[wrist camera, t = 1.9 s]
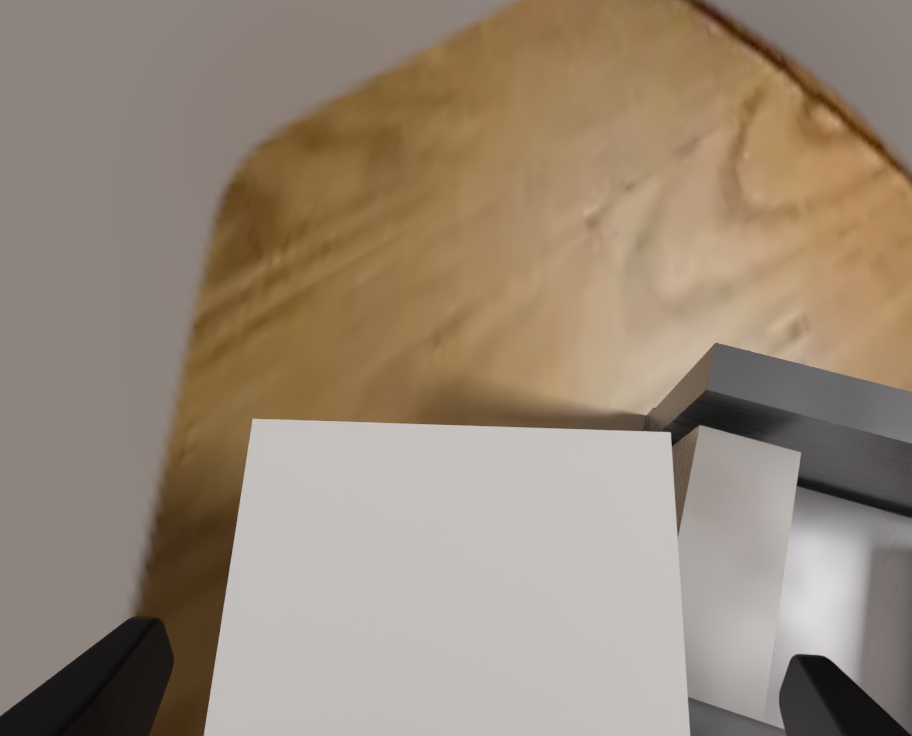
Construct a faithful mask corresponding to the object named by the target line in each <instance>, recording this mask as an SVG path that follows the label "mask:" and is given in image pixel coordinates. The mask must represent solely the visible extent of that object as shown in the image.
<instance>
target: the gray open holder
mask: <svg viewBox="0 0 912 736" xmlns="http://www.w3.org/2000/svg"><path fill="white" fill-rule="evenodd" d="M644 431H649V432H671V444H672V459H673V475H674V491H675V506H676V522H677V537H678V553H679V569H680V584H681V600H682V615H683V631H684V646H685V662H686V678H687V693H688V709H689V724H690V736H786V732H785V728H784V724H783V720H782V716H781V712H780V707H779V691H780V688H781V685H782V682H783V679H784V676H785V673H786V670H787V667H788V665H789V662H790V659H791V657H793V656H794V655H795V654H811V655H822V656H825V657H827V658H828V659H830V660H831V661H832V662H834V663H835V664H836V665H837V666H838V667H839V668H840V669H841V670H842V671H843V672H844V673H845V674H846V675H848V676H849V677H850V678H851V679H852V680H853V681H854V682H855V683H856V684H857V685H858V686H859V687H860V688H861V689H862V690H864V691H865V692H866V693H867V694H868V695H869V696H870V697H871V698H872V699H873V700H874V701H875V702H876V703H877V704H879V705H880V706H881V707H882V708H883V709H884V710H885V711H886V712H887V713H888V714H889V715H890V716H891V717H892V718H894V719H895V720H896V721H897V722H898V723H899V724H900V725H901V726H902V727H903V728H904V729H905V730H906V731H907V732H908V733H910V734H911V735H912V392H909V391H905V390H901V389H898V388H894V387H890V386H886V385H882V384H878V383H874V382H870V381H866V380H862V379H858V378H854V377H850V376H846V375H842V374H838V373H834V372H830V371H826V370H822V369H818V368H814V367H810V366H806V365H802V364H798V363H794V362H790V361H786V360H782V359H778V358H774V357H770V356H766V355H762V354H758V353H754V352H750V351H746V350H742V349H738V348H734V347H730V346H726V345H722V344H718V343H715V344H714V345H713V346H712V347H711V348H710V349H709V351H708V352H707V353H706V354H705V355H704V356H703V357H702V358H701V359H700V360H699V361H698V363H697V364H696V365H695V366H694V367H693V368H692V369H691V370H690V371H689V372H688V373H687V374H686V376H685V377H684V378H683V379H682V380H681V381H680V382H679V383H678V384H677V385H676V386H675V388H674V389H673V390H672V391H671V392H670V393H669V394H668V395H667V396H666V397H665V398H664V400H663V401H662V402H661V403H660V404H659V405H658V406H657V407H656V408H653V409H652V410H651V411H650V412H649V413H648V414H647V418H646V422H645V427H644Z"/></svg>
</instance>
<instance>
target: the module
mask: <svg viewBox="0 0 912 736" xmlns="http://www.w3.org/2000/svg"><path fill="white" fill-rule="evenodd" d="M204 736H690V724H689V709H688V693H687V678H686V662H685V646H684V631H683V615H682V600H681V584H680V569H679V553H678V537H677V522H676V506H675V491H674V475H673V459H672V444H671V432H649V431H618V430H587V429H555V428H524V427H492V426H461V425H429V424H398V423H366V422H335V421H304V420H272V419H253V421H252V428H251V434H250V441H249V447H248V454H247V460H246V466H245V473H244V479H243V486H242V492H241V499H240V505H239V512H238V518H237V525H236V531H235V537H234V544H233V550H232V557H231V563H230V570H229V576H228V583H227V589H226V595H225V602H224V608H223V615H222V621H221V628H220V634H219V641H218V647H217V654H216V660H215V666H214V673H213V679H212V686H211V692H210V699H209V705H208V712H207V718H206V725H205V731H204Z"/></svg>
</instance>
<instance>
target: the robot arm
mask: <svg viewBox="0 0 912 736" xmlns="http://www.w3.org/2000/svg"><path fill="white" fill-rule="evenodd" d="M173 662H174V656H173V651H172V648H171V645H170V642H169V638H168V635H167V632H166V629H165V626H164V623H163V621H162V620H161V619H160V618H157V617H142V616H136V617H132V618H130V619H128V620H126V621H125V622H124V623H122V624H121V625H120V626H118V627H117V628H116V629H114V630H113V631H112V632H111V633H109V634H108V635H107V636H105V637H104V638H103V639H102V640H100V641H99V642H98V643H96V644H95V645H93V646H92V647H91V648H89V649H88V650H87V651H86V652H84V653H83V654H82V655H80V656H79V657H78V658H76V659H75V660H74V661H72V662H71V663H70V664H68V665H67V666H66V667H64V668H63V669H62V670H61V671H59V672H58V673H57V674H55V675H54V676H53V677H51V678H50V679H49V680H47V681H46V682H45V683H43V684H42V685H41V686H40V687H38V688H37V689H36V690H34V691H33V692H32V693H30V694H29V695H28V696H26V697H25V698H24V699H22V700H21V701H20V702H19V703H17V704H16V705H14V706H13V707H12V708H10V709H9V710H8V711H7V712H5V713H4V714H3V715H1V716H0V736H149V734H150V732H151V729H152V726H153V723H154V720H155V718H156V715H157V712H158V709H159V706H160V703H161V701H162V698H163V695H164V692H165V689H166V687H167V684H168V681H169V678H170V675H171V672H172V669H173ZM779 707H780V712H781V716H782V720H783V724H784V728H785V732H786V736H912V735H911V734H910V733H908V732H907V731H906V730H905V729H904V728H903V727H902V726H901V725H900V724H899V723H898V722H897V721H896V720H895V719H894V718H892V717H891V716H890V715H889V714H888V713H887V712H886V711H885V710H884V709H883V708H882V707H881V706H880V705H879V704H877V703H876V702H875V701H874V700H873V699H872V698H871V697H870V696H869V695H868V694H867V693H866V692H865V691H864V690H862V689H861V688H860V687H859V686H858V685H857V684H856V683H855V682H854V681H853V680H852V679H851V678H850V677H849V676H848V675H846V674H845V673H844V672H843V671H842V670H841V669H840V668H839V667H838V666H837V665H836V664H835V663H834V662H832V661H831V660H830V659H828V658H827V657H825V656H822V655H811V654H795V655H794V656H793V657H791V659H790V662H789V665H788V667H787V670H786V673H785V676H784V679H783V682H782V685H781V688H780V691H779Z"/></svg>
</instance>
